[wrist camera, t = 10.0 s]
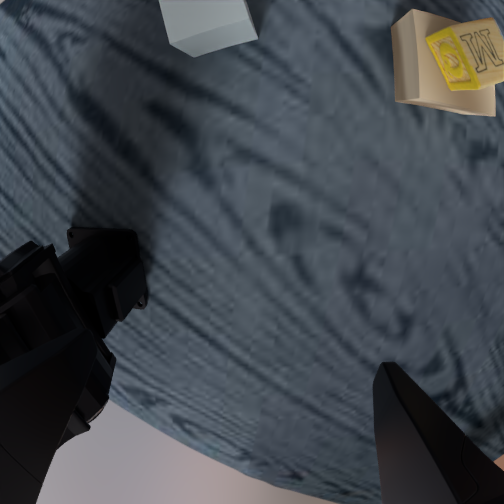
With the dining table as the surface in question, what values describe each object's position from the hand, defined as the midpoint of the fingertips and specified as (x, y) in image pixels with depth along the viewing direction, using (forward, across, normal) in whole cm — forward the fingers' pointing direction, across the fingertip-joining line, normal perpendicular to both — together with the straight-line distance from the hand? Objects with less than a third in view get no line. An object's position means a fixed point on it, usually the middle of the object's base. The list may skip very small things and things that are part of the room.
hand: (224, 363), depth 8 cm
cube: (+12, +3, -13) cm, 18 cm away
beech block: (+12, -10, -11) cm, 19 cm away
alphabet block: (+8, -10, -11) cm, 17 cm away
